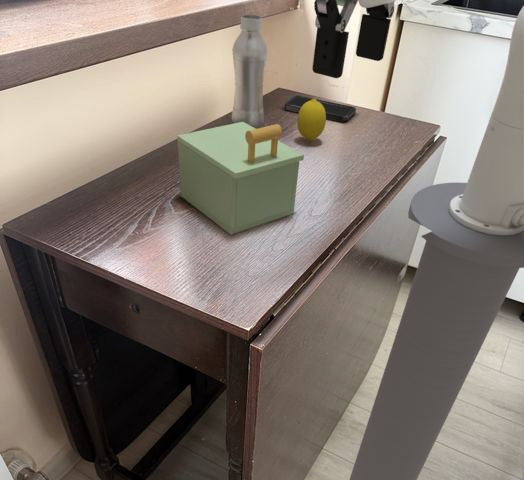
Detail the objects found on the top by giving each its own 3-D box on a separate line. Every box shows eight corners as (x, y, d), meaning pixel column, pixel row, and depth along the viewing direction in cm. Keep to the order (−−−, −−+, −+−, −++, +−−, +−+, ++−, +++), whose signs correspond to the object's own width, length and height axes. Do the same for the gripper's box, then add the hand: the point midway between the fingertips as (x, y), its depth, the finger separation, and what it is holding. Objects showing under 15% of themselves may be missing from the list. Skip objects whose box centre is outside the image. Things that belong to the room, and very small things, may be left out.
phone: (346, 117, 110) (283, 103, 114) (345, 123, 110) (282, 109, 114) (357, 107, 115) (296, 94, 119) (356, 112, 116) (296, 99, 120)
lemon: (320, 136, 104) (326, 94, 99) (324, 147, 100) (330, 104, 95) (293, 135, 104) (298, 93, 98) (297, 146, 100) (301, 103, 94)
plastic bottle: (255, 140, 100) (261, 22, 87) (225, 133, 102) (226, 17, 89) (269, 130, 105) (276, 16, 91) (239, 123, 107) (242, 11, 93)
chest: (293, 213, 80) (299, 158, 74) (230, 234, 74) (232, 177, 68) (241, 179, 88) (242, 126, 82) (180, 196, 82) (177, 141, 76)
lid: (303, 160, 73) (307, 124, 70) (235, 179, 68) (236, 141, 64) (242, 126, 81) (243, 93, 78) (177, 140, 76) (175, 105, 72)
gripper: (383, -168, 36) (341, 91, 48) (461, -148, 47) (412, 59, 58) (294, -172, 39) (275, 74, 50) (387, -153, 50) (354, 46, 61)
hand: (348, 66), depth 54 cm, fingers open, 9 cm apart
